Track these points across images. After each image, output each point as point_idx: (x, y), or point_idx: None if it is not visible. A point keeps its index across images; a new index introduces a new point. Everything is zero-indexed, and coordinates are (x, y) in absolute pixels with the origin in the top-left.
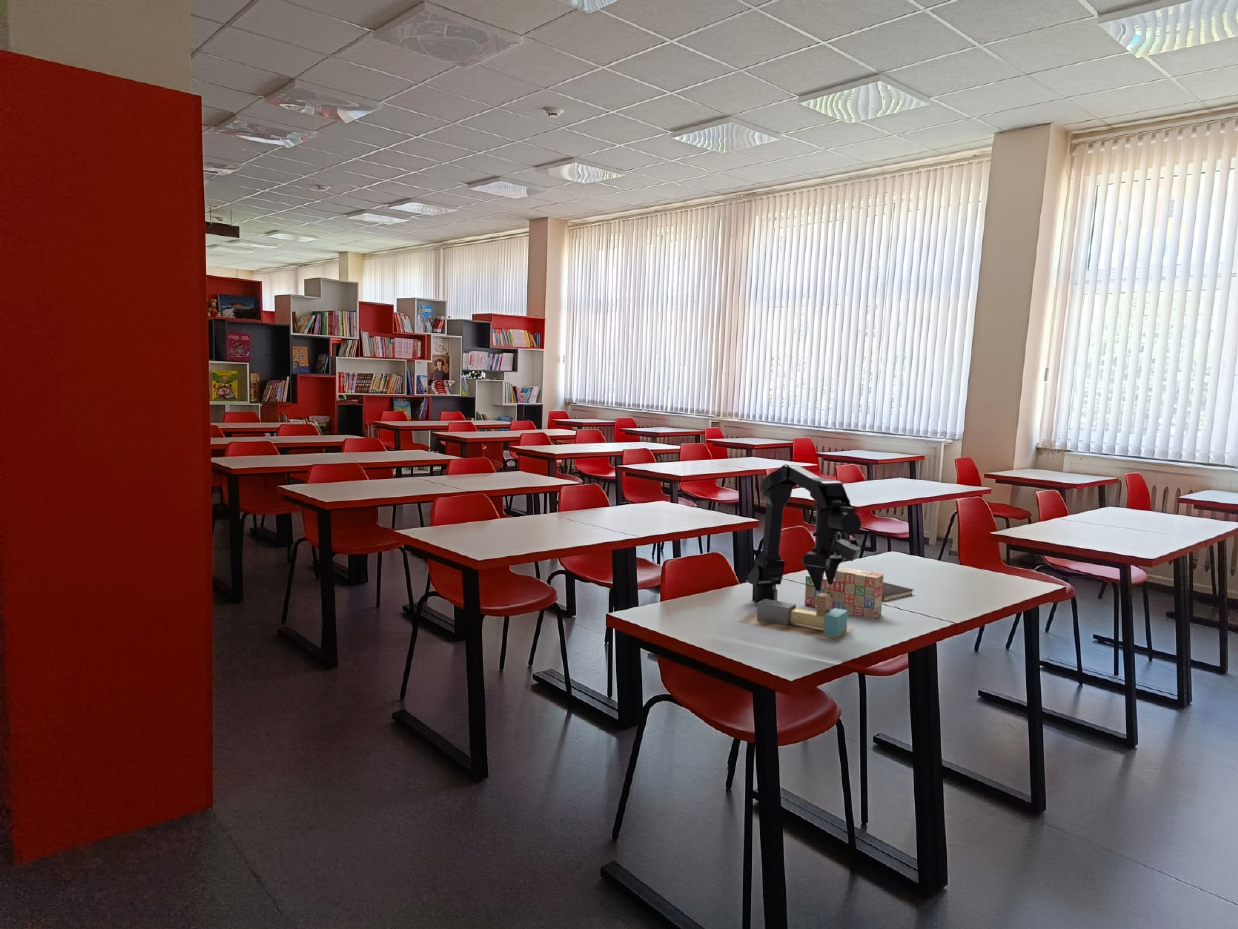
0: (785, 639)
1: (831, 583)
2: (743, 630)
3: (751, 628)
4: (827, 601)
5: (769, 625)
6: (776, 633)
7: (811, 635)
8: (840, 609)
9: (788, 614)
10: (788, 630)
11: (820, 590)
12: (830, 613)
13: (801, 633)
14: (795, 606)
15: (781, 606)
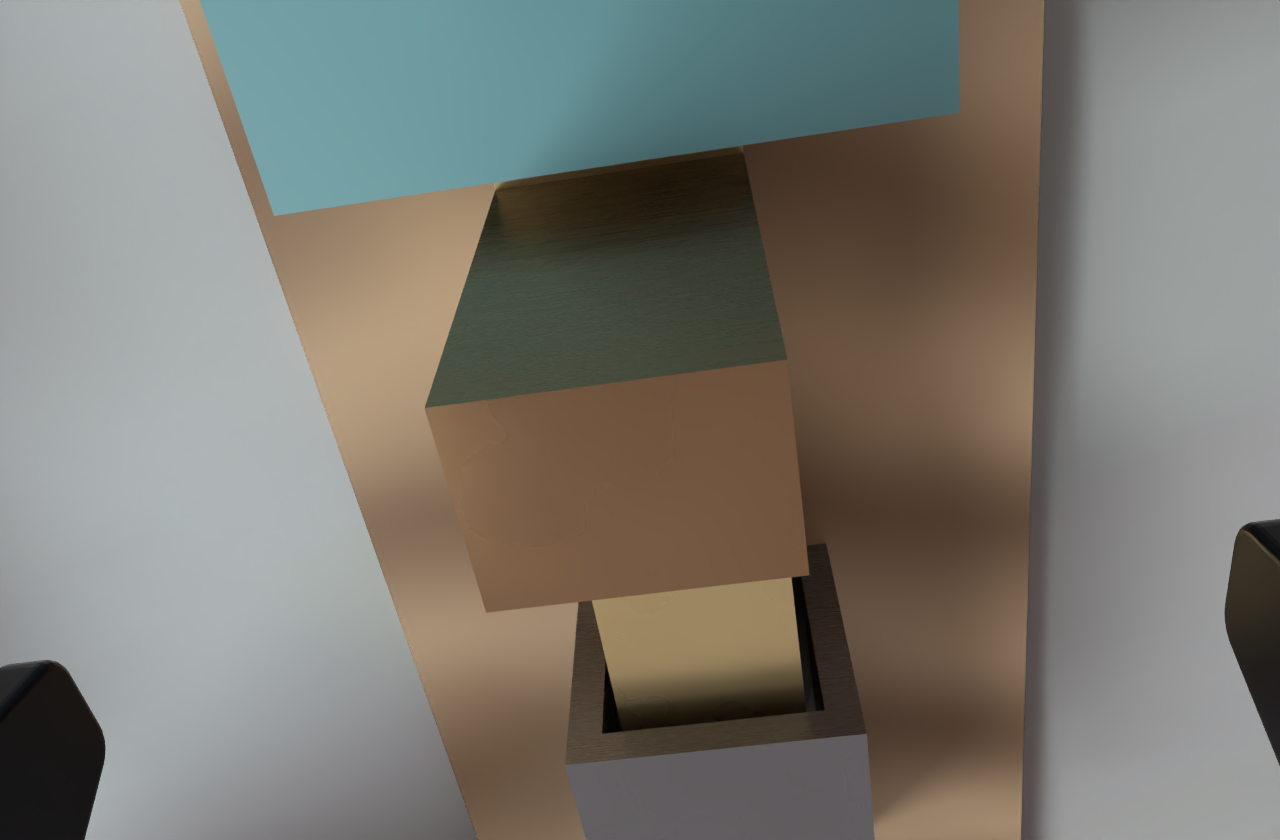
0: (1224, 356)
1: (46, 694)
2: (1160, 780)
3: (1036, 766)
4: (650, 303)
5: (949, 686)
6: (1041, 537)
7: (1019, 136)
8: (254, 67)
9: (849, 661)
10: (999, 462)
11: (1271, 523)
12: (755, 65)
13: (1017, 286)
14: (578, 738)
15: (855, 825)
